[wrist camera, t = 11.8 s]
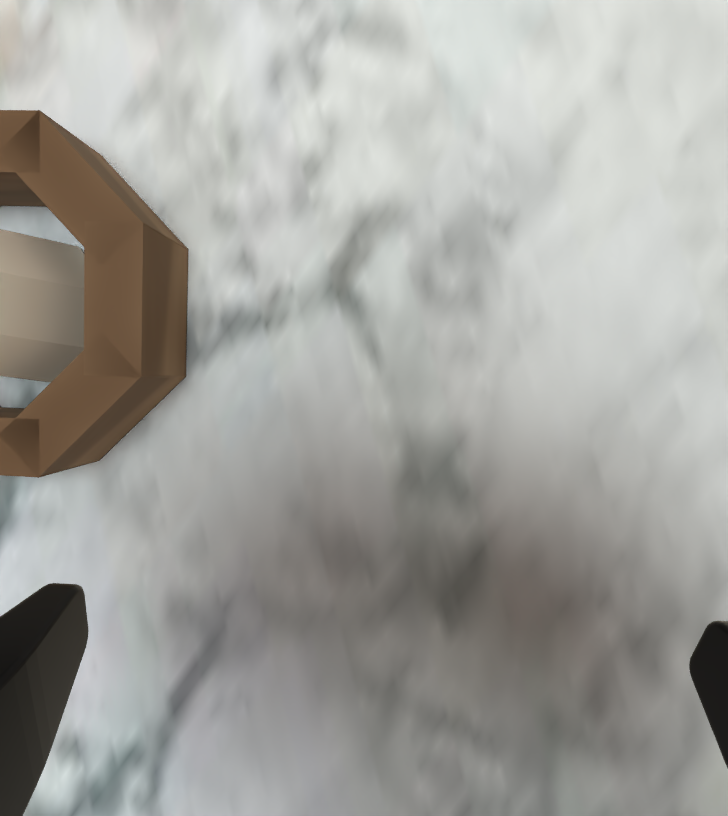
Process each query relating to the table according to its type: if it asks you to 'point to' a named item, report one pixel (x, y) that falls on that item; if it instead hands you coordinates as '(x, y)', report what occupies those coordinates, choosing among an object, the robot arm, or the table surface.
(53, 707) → the robot arm
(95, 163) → the ring holder
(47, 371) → the pepper shaker
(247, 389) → the table surface
